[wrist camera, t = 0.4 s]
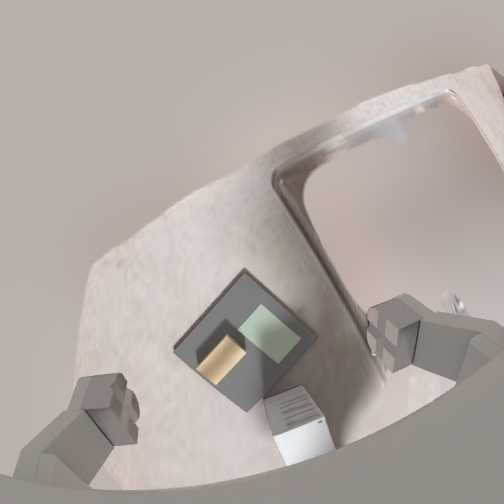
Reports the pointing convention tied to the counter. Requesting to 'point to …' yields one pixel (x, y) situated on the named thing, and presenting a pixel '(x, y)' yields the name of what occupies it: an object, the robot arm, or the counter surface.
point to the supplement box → (298, 426)
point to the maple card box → (221, 359)
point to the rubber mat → (248, 341)
